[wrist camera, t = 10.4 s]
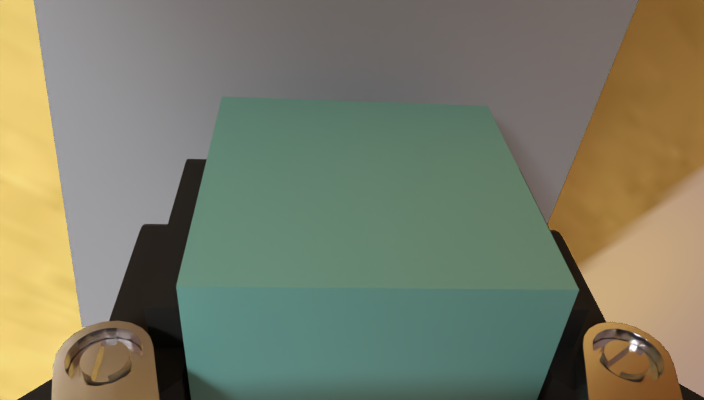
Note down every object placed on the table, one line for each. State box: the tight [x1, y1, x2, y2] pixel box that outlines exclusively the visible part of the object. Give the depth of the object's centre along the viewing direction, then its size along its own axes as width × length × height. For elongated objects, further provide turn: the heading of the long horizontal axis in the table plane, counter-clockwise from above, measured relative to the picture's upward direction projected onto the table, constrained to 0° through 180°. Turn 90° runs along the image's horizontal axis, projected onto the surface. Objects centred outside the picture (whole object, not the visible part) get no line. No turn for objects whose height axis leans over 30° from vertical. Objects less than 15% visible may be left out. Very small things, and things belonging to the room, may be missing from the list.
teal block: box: [176, 97, 579, 400], centre depth 11 cm, size 5×5×5 cm
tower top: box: [34, 0, 639, 327], centre depth 17 cm, size 12×12×5 cm
